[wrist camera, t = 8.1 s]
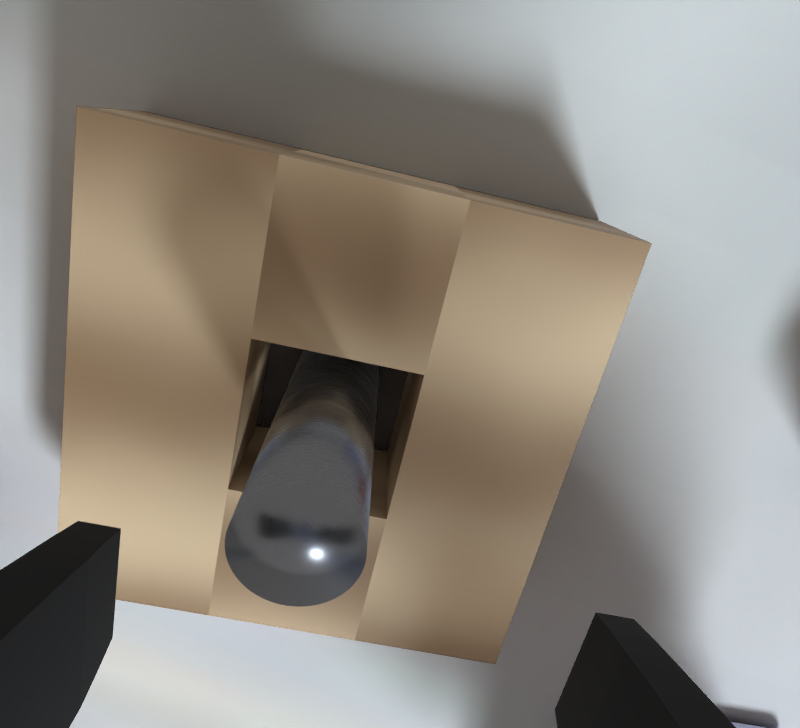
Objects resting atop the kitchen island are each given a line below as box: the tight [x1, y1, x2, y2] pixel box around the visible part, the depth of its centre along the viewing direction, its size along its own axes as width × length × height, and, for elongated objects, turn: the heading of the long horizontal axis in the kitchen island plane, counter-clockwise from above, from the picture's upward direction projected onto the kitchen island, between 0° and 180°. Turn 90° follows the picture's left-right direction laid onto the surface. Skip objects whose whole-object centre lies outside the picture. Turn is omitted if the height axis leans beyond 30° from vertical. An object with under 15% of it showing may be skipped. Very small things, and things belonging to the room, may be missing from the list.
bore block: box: [58, 106, 651, 664], centre depth 16 cm, size 12×12×4 cm
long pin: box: [225, 350, 379, 607], centre depth 14 cm, size 2×2×8 cm
